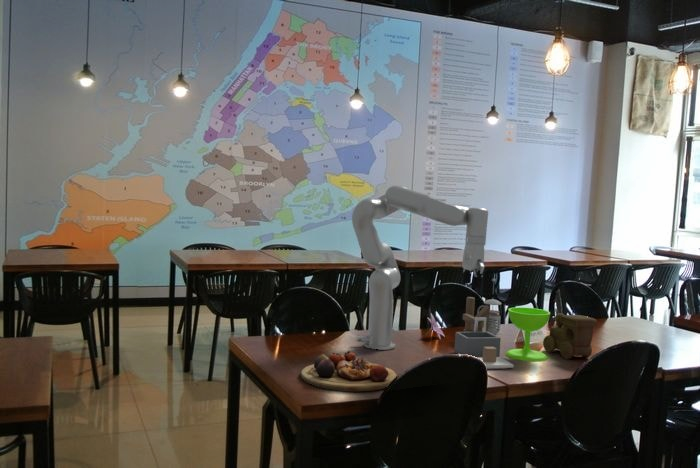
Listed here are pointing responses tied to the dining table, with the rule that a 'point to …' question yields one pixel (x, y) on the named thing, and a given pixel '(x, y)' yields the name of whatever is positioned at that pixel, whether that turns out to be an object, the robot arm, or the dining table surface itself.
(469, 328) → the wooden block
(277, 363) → the dining table surface
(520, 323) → the wineglass
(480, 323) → the tan bar
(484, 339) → the toolbox
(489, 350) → the lid
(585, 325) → the wooden toy train
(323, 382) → the wooden plate with food
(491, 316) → the french press
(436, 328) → the lily
